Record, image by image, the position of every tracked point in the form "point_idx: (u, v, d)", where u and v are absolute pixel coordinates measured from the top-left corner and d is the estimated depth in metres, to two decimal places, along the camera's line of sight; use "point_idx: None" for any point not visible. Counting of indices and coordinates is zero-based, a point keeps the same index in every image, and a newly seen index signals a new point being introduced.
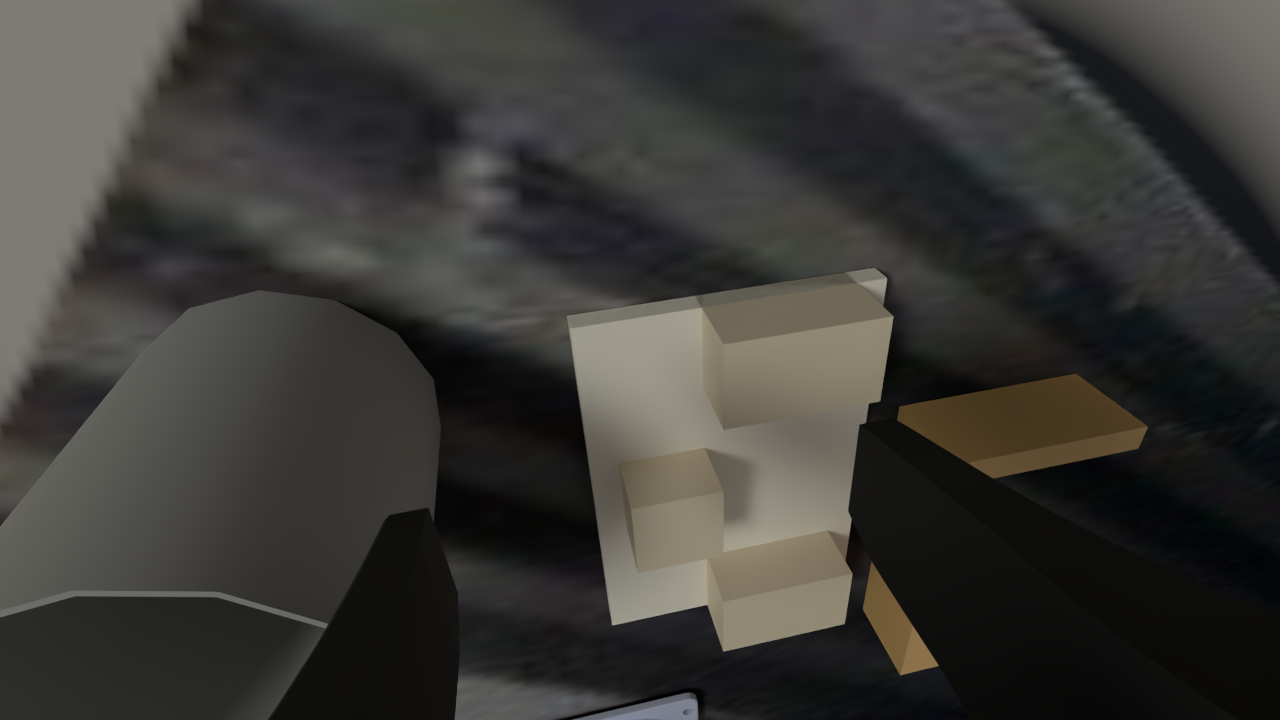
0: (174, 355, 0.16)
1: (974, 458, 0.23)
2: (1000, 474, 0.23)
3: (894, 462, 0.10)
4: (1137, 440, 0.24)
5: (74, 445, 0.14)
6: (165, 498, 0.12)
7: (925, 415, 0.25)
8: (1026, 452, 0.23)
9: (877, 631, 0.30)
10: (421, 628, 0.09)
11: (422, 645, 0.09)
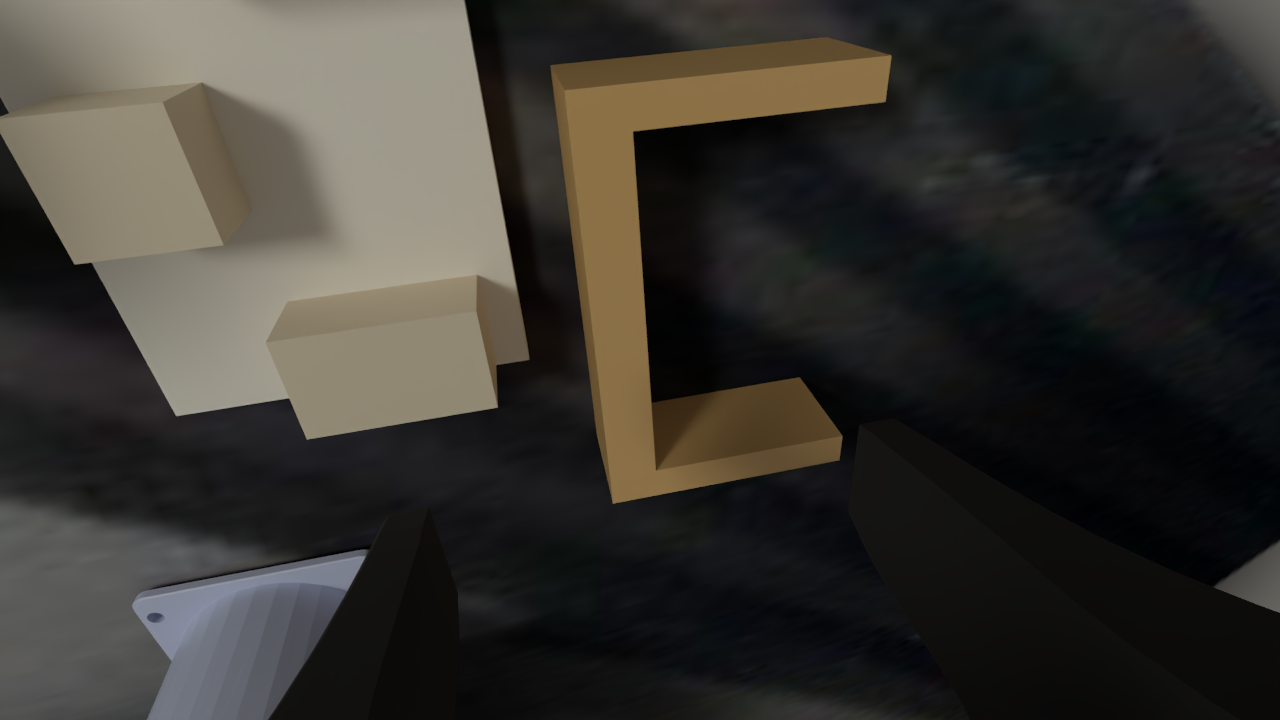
0: None
1: (605, 85, 0.14)
2: (658, 122, 0.15)
3: (894, 462, 0.10)
4: (880, 83, 0.15)
5: None
6: None
7: (578, 67, 0.16)
8: (691, 81, 0.14)
9: (602, 456, 0.22)
10: (421, 628, 0.09)
11: (423, 645, 0.09)
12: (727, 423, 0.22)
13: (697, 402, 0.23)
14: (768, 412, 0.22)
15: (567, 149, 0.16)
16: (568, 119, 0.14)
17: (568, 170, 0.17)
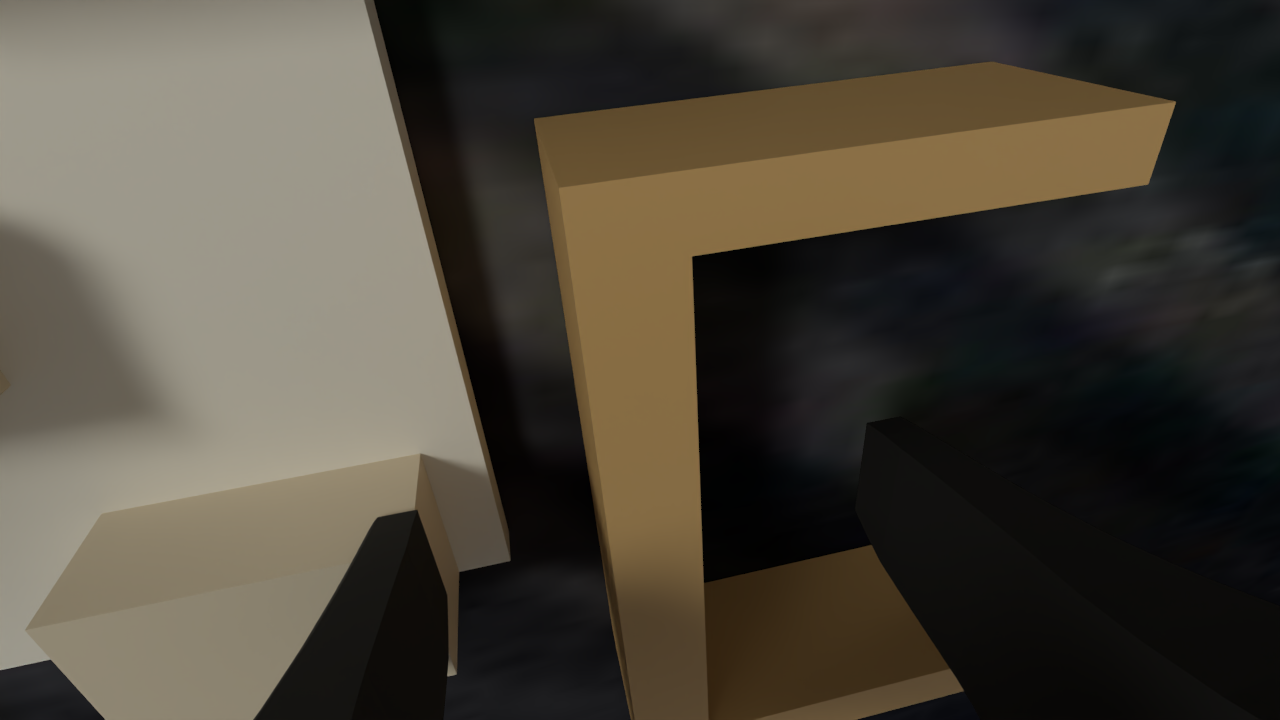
0: None
1: (641, 174, 0.07)
2: (740, 239, 0.08)
3: (902, 460, 0.10)
4: (1145, 153, 0.08)
5: None
6: None
7: (582, 124, 0.09)
8: (807, 162, 0.07)
9: (622, 677, 0.15)
10: (408, 631, 0.09)
11: (410, 647, 0.09)
12: (807, 629, 0.15)
13: (758, 585, 0.16)
14: (866, 607, 0.15)
15: (566, 277, 0.09)
16: (567, 240, 0.07)
17: (567, 303, 0.09)
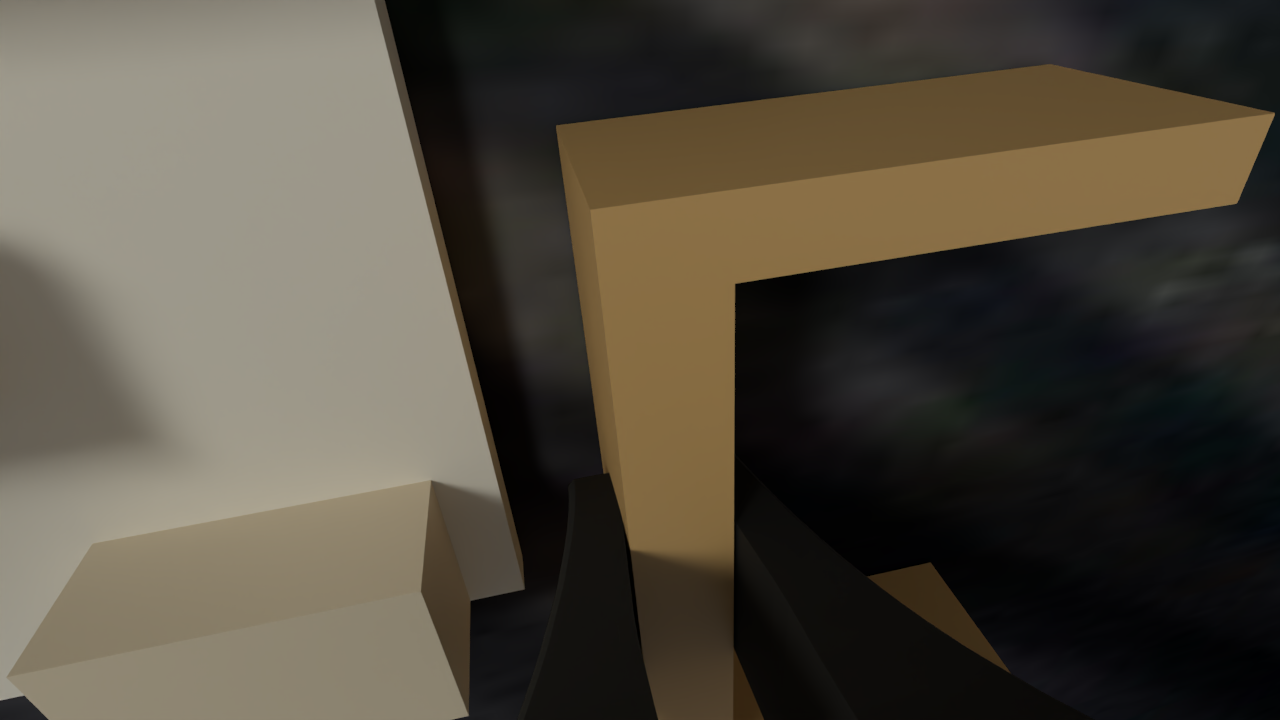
0: None
1: (681, 193, 0.06)
2: (789, 264, 0.07)
3: None
4: (1237, 169, 0.07)
5: None
6: None
7: (609, 132, 0.08)
8: (866, 179, 0.07)
9: None
10: None
11: None
12: None
13: None
14: None
15: (592, 301, 0.08)
16: (598, 267, 0.07)
17: (592, 327, 0.09)
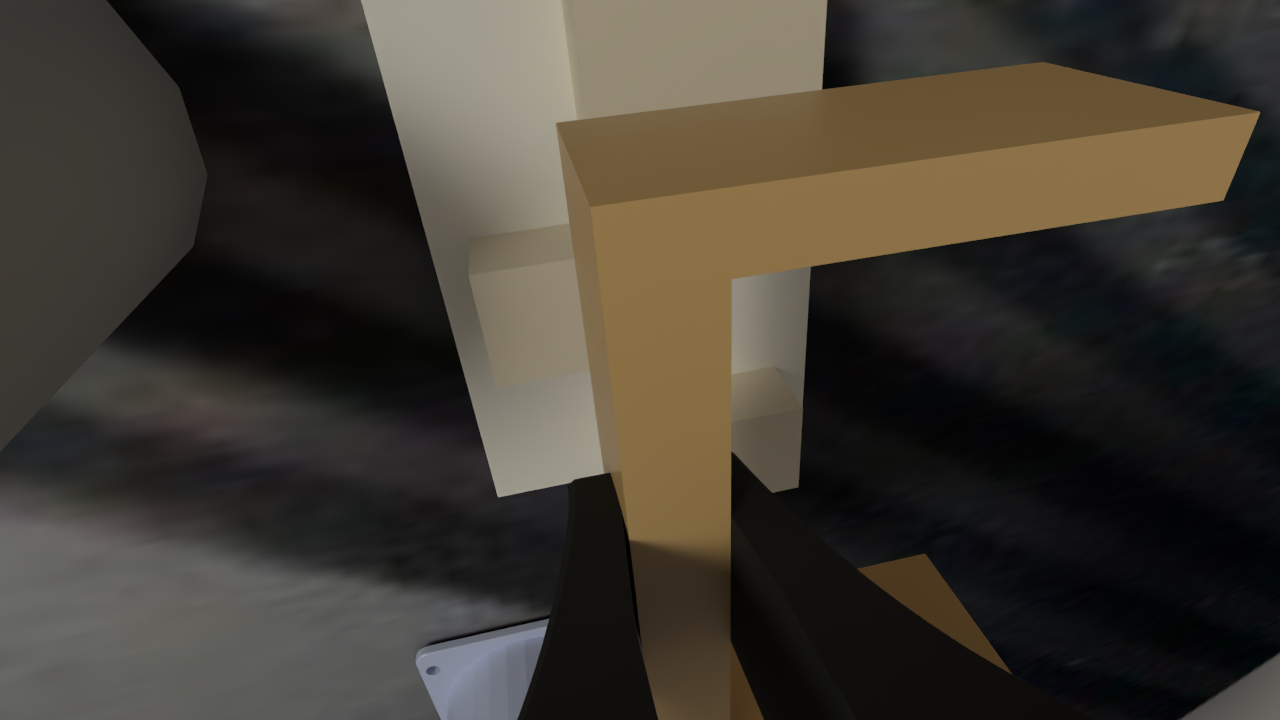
0: None
1: (679, 191, 0.07)
2: (785, 259, 0.07)
3: None
4: (1223, 167, 0.08)
5: None
6: None
7: (608, 130, 0.09)
8: (860, 177, 0.07)
9: None
10: None
11: None
12: None
13: None
14: None
15: (591, 296, 0.08)
16: (598, 263, 0.07)
17: (591, 322, 0.09)
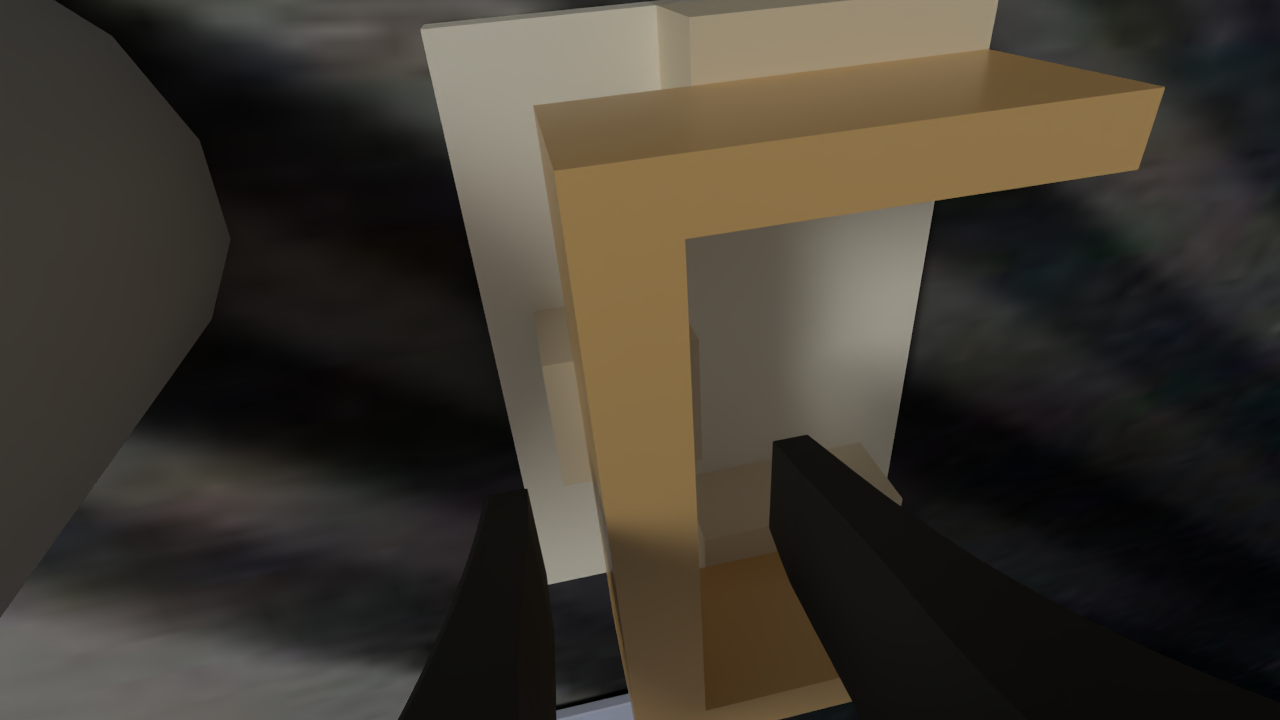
0: None
1: (634, 157, 0.07)
2: (733, 221, 0.08)
3: (800, 481, 0.10)
4: (1135, 138, 0.08)
5: None
6: None
7: (580, 110, 0.09)
8: (798, 145, 0.08)
9: None
10: (534, 604, 0.09)
11: (536, 620, 0.09)
12: (804, 613, 0.15)
13: (756, 569, 0.16)
14: None
15: (563, 260, 0.09)
16: (563, 223, 0.07)
17: (565, 287, 0.10)
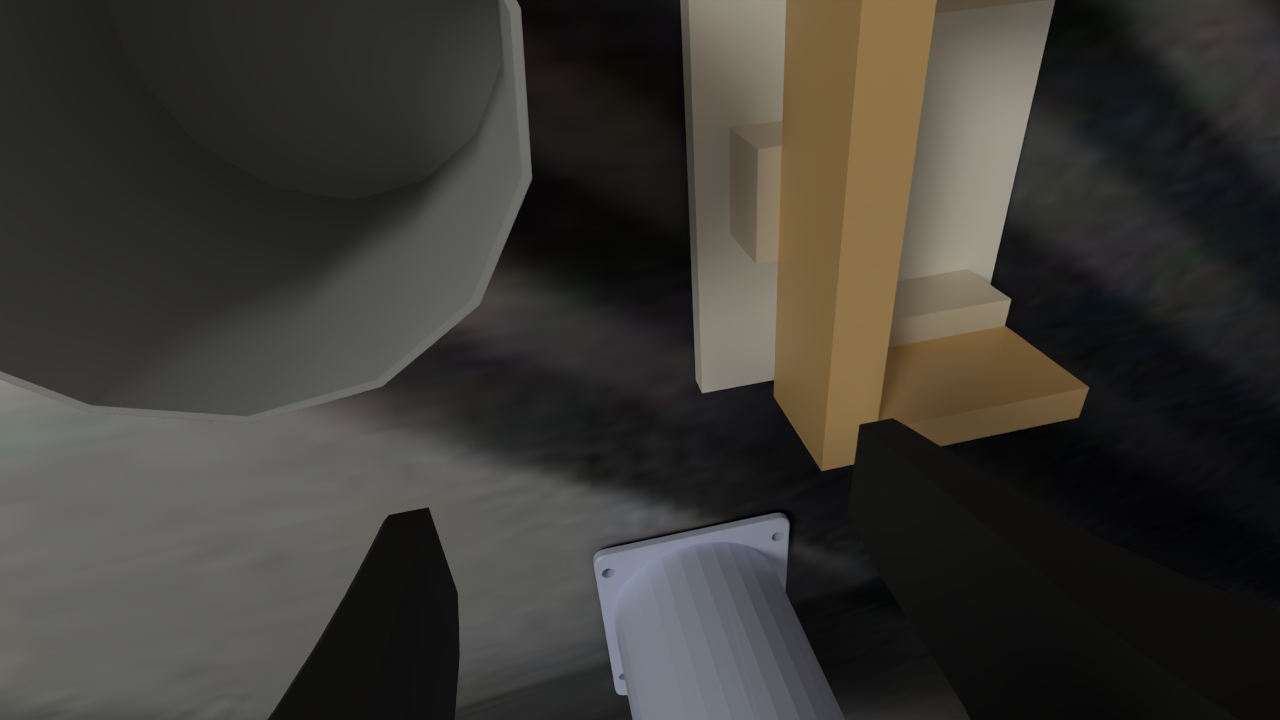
0: None
1: None
2: None
3: (894, 462, 0.10)
4: None
5: None
6: None
7: None
8: None
9: (791, 418, 0.19)
10: (421, 628, 0.09)
11: (422, 645, 0.09)
12: (940, 376, 0.19)
13: (893, 354, 0.20)
14: (985, 363, 0.19)
15: (832, 13, 0.12)
16: None
17: (818, 47, 0.13)
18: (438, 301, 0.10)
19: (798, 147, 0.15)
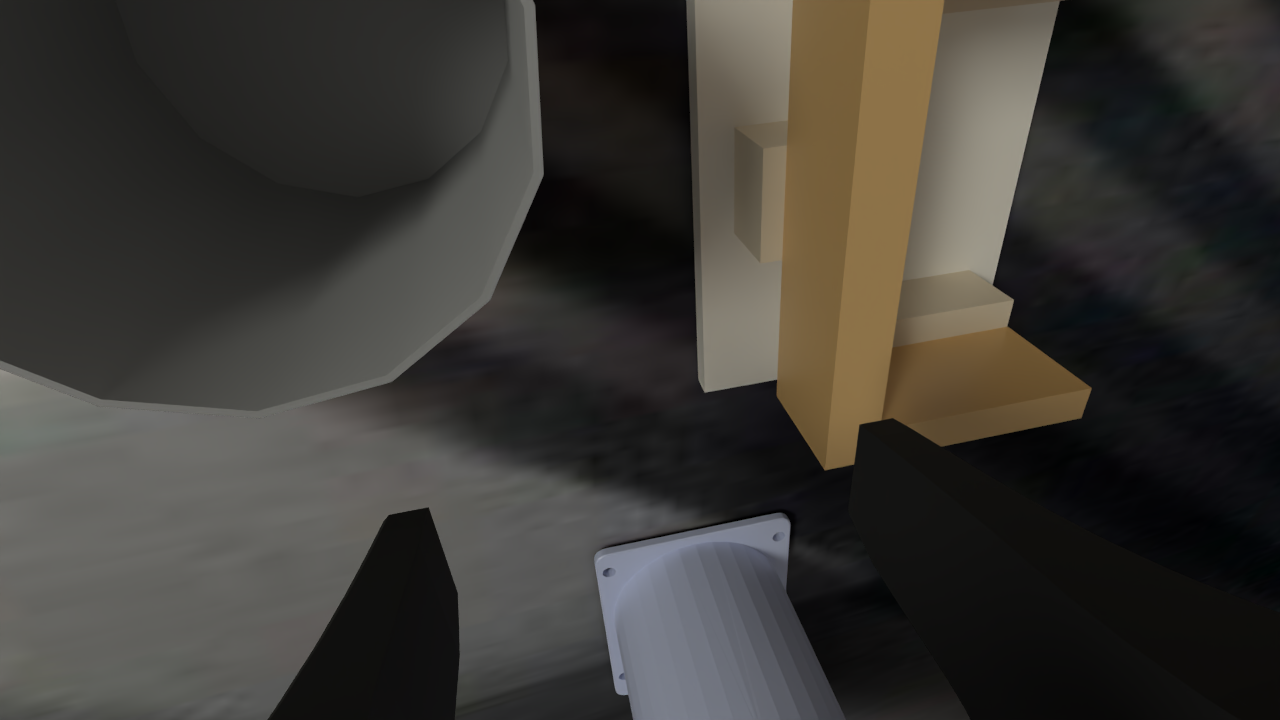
0: None
1: None
2: None
3: (894, 462, 0.10)
4: None
5: None
6: None
7: None
8: None
9: (794, 417, 0.19)
10: (421, 628, 0.09)
11: (422, 645, 0.09)
12: (943, 376, 0.19)
13: (896, 354, 0.20)
14: (988, 364, 0.19)
15: (840, 12, 0.13)
16: None
17: (825, 47, 0.13)
18: (448, 298, 0.10)
19: (804, 146, 0.15)
